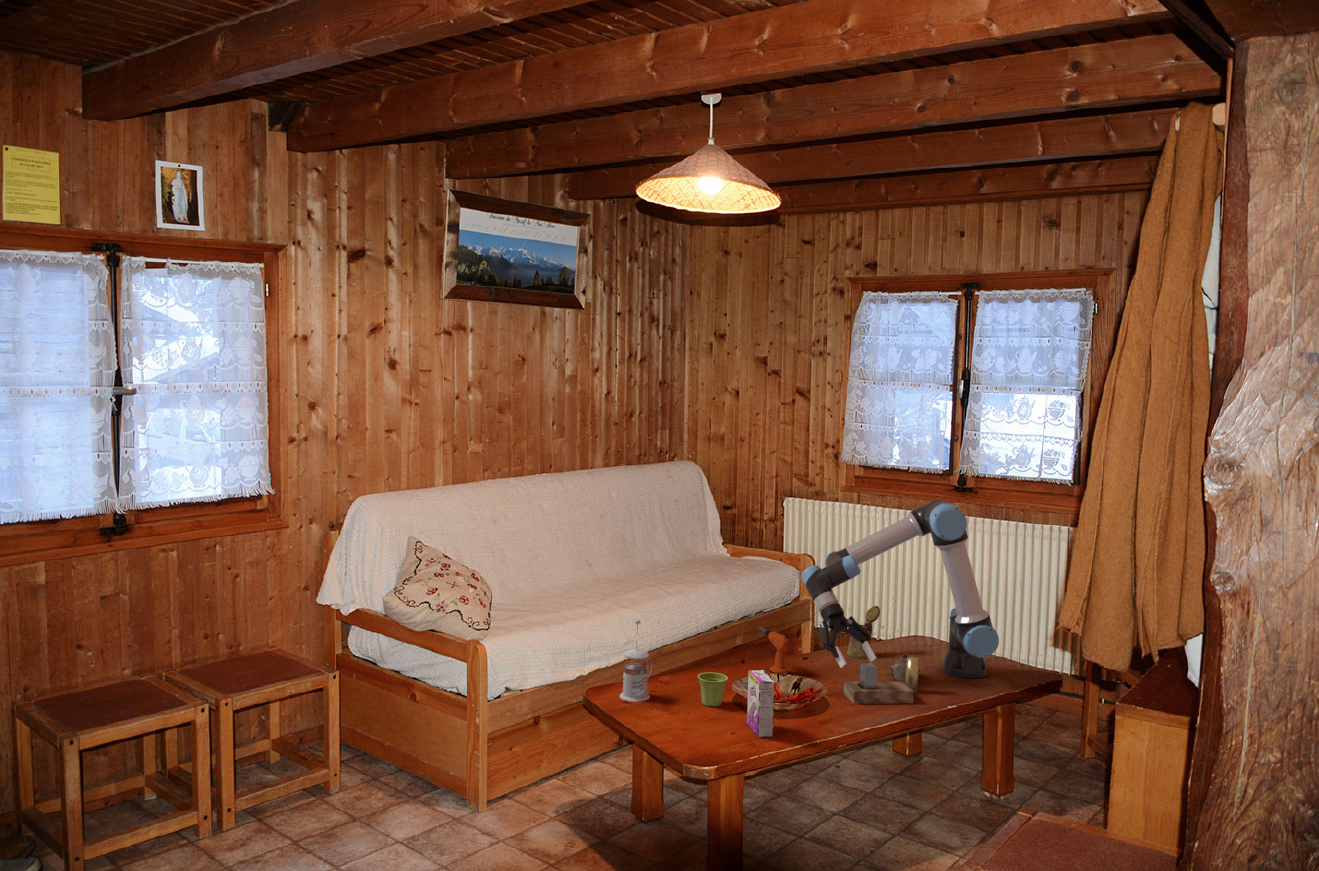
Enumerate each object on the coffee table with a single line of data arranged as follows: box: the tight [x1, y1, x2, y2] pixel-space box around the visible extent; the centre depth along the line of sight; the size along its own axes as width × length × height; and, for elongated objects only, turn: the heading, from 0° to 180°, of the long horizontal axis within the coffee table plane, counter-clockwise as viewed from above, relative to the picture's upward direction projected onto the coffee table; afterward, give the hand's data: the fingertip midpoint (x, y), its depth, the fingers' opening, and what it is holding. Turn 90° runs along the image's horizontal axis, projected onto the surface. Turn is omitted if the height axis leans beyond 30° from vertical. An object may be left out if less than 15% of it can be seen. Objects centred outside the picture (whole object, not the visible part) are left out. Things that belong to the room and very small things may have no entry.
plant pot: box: [697, 671, 729, 707], centre depth 304 cm, size 9×9×9 cm
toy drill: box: [758, 626, 791, 673], centre depth 342 cm, size 5×18×14 cm, turn 28°
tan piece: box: [846, 605, 881, 659], centre depth 364 cm, size 9×14×18 cm, turn 125°
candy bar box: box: [746, 669, 776, 738], centre depth 282 cm, size 11×5×16 cm, turn 12°
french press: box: [619, 619, 653, 703], centre depth 308 cm, size 10×12×25 cm
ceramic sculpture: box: [888, 654, 921, 683], centre depth 337 cm, size 11×9×15 cm
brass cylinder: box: [905, 656, 920, 694], centre depth 323 cm, size 4×4×11 cm
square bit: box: [859, 662, 878, 689], centre depth 314 cm, size 4×4×11 cm
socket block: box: [843, 680, 915, 705], centre depth 315 cm, size 20×10×4 cm, turn 97°
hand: (858, 663), depth 317 cm, fingers open, 13 cm apart
